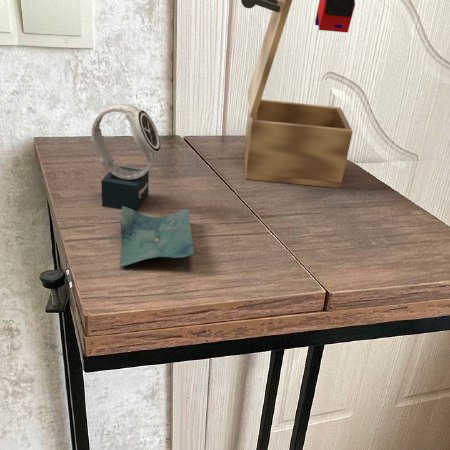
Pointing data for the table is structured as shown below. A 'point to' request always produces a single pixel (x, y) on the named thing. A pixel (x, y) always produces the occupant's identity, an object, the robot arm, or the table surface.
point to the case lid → (266, 48)
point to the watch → (122, 176)
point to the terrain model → (154, 236)
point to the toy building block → (331, 20)
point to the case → (297, 144)
